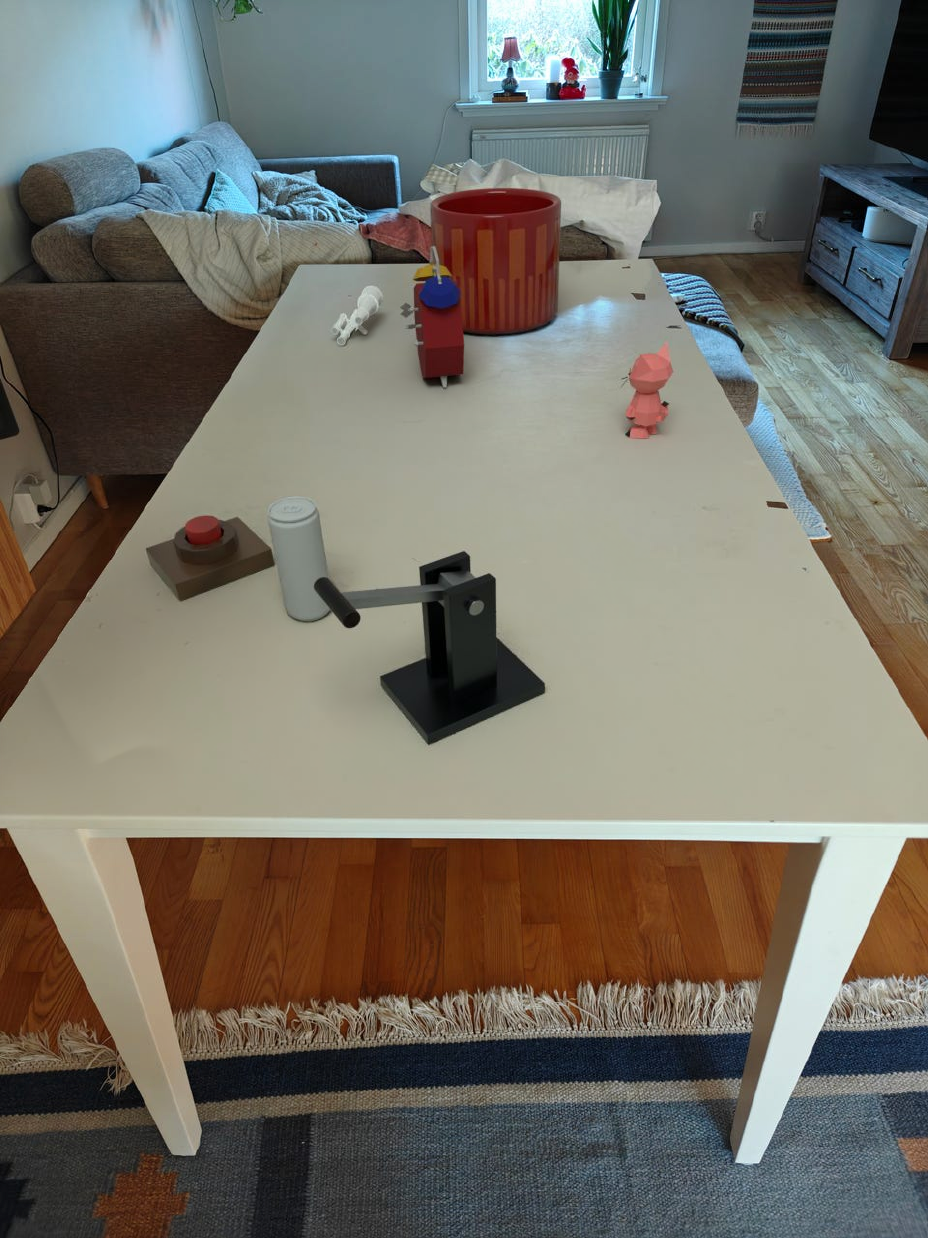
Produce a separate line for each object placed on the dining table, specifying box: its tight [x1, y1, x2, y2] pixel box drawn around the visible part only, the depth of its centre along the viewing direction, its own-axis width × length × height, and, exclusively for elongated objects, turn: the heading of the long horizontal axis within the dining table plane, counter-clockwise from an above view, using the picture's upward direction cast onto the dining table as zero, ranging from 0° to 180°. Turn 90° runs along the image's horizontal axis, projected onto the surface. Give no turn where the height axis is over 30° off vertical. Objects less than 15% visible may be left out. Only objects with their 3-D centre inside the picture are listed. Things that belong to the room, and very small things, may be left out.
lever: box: [314, 571, 476, 629], centre depth 68 cm, size 13×6×2 cm, turn 121°
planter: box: [429, 187, 562, 336], centre depth 154 cm, size 23×23×20 cm
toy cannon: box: [330, 285, 384, 347], centre depth 154 cm, size 8×14×5 cm
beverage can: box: [267, 495, 331, 623], centre depth 84 cm, size 5×5×12 cm
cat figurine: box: [620, 342, 674, 440], centre depth 115 cm, size 7×7×12 cm
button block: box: [145, 516, 275, 602], centre depth 94 cm, size 11×9×4 cm
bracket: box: [379, 550, 546, 746], centre depth 73 cm, size 12×9×13 cm
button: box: [184, 514, 222, 545], centre depth 92 cm, size 4×4×2 cm
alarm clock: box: [399, 246, 465, 389], centre depth 131 cm, size 15×9×20 cm, turn 9°
